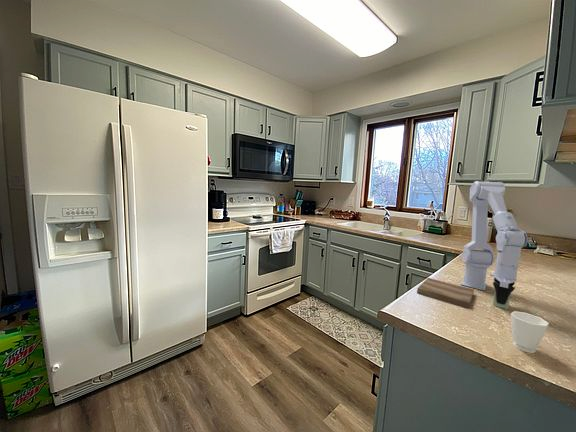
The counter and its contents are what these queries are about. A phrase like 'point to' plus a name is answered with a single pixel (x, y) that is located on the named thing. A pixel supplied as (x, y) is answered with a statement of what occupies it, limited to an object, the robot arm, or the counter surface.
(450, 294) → the base board
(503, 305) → the block
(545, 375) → the counter surface
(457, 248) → the counter surface
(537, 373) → the counter surface
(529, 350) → the cup
